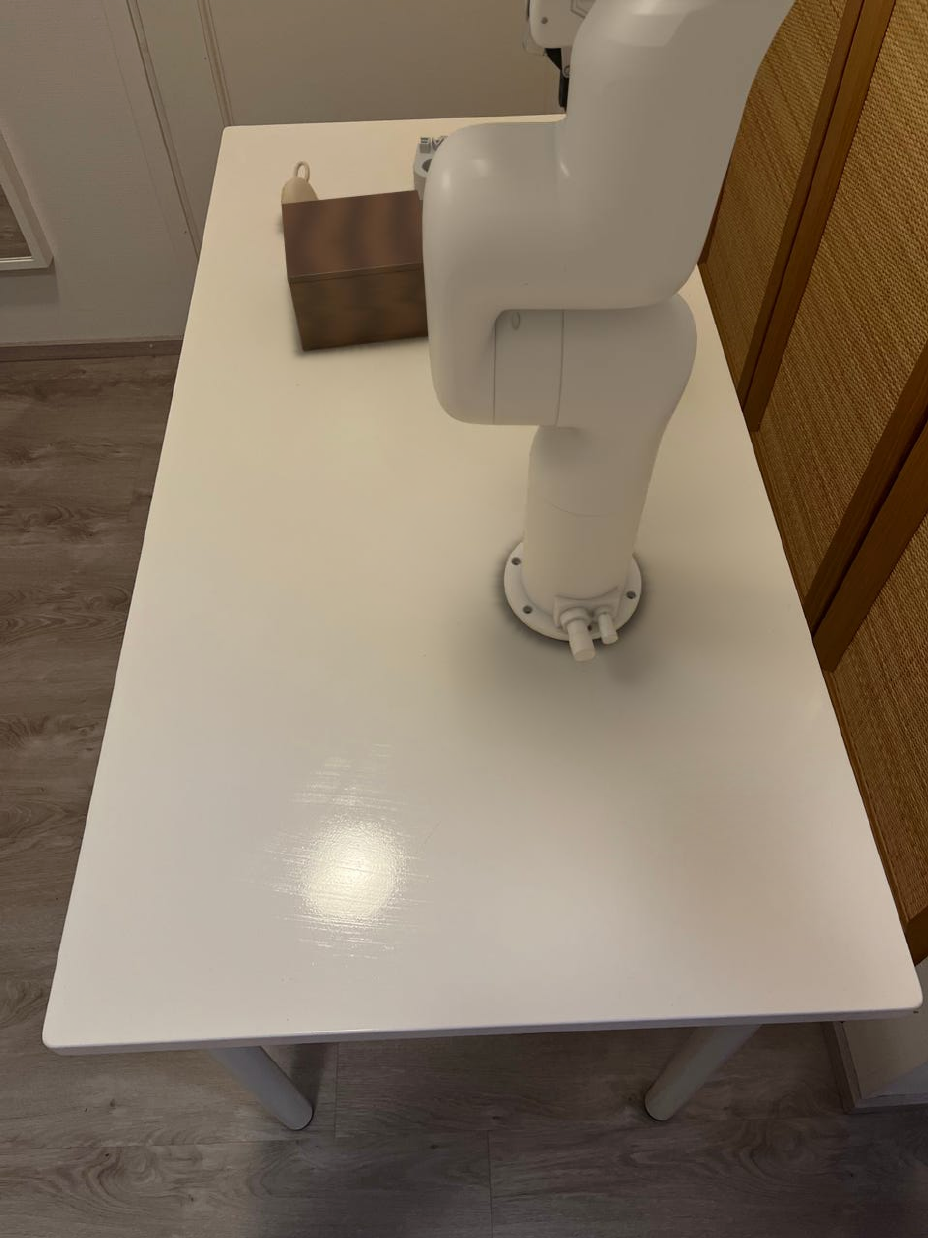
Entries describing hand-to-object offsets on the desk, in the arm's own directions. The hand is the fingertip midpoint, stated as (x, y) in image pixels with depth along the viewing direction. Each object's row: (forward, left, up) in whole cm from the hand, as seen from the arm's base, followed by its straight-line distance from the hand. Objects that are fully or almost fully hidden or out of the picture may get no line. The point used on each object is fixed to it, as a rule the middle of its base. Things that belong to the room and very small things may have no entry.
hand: (573, 111), depth 87 cm
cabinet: (+2, +23, -21) cm, 31 cm away
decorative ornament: (+21, +29, -21) cm, 42 cm away
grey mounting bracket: (+24, +10, -21) cm, 34 cm away
